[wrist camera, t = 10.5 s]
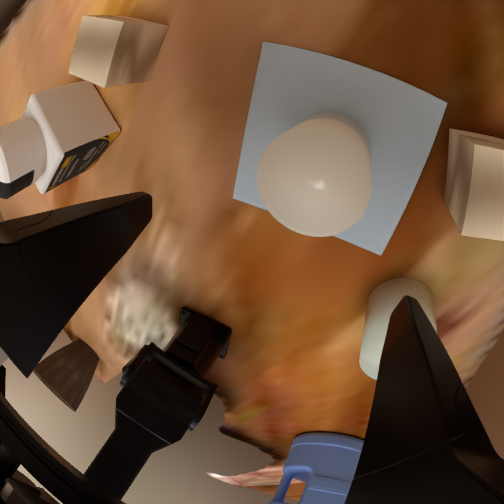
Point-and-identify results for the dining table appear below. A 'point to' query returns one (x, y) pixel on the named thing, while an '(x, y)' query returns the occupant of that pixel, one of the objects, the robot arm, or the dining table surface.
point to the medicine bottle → (55, 138)
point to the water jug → (321, 467)
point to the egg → (317, 175)
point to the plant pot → (69, 372)
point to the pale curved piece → (388, 317)
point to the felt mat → (354, 106)
